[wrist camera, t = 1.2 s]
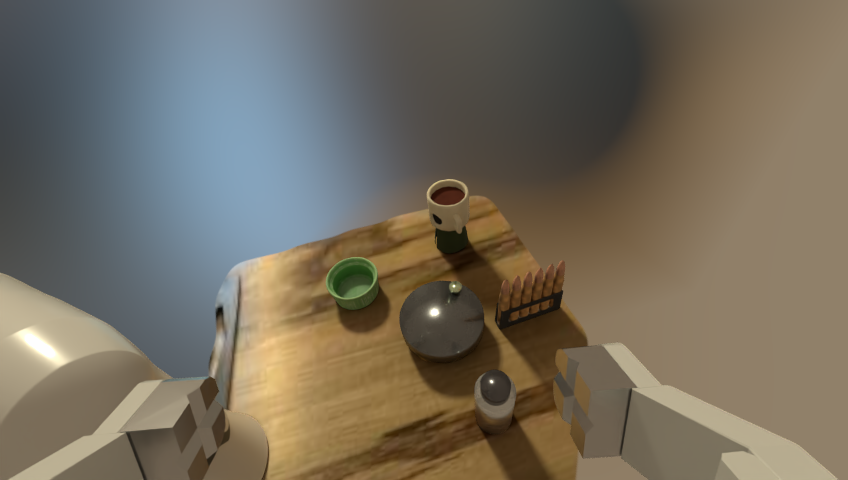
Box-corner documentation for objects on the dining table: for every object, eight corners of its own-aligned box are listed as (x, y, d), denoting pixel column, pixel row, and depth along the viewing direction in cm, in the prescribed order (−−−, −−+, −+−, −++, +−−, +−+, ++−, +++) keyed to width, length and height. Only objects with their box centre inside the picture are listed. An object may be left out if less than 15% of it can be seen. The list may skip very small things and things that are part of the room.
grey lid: (428, 384, 59) (425, 370, 56) (390, 319, 67) (384, 303, 64) (500, 341, 63) (501, 324, 59) (455, 283, 71) (454, 266, 67)
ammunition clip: (553, 299, 67) (565, 253, 58) (559, 308, 66) (572, 263, 57) (494, 320, 65) (496, 276, 56) (499, 329, 64) (502, 287, 55)
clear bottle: (489, 442, 54) (490, 414, 45) (468, 409, 57) (466, 377, 48) (519, 421, 55) (526, 391, 47) (497, 390, 58) (500, 356, 50)
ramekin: (380, 311, 69) (375, 297, 66) (328, 314, 70) (321, 300, 66) (383, 270, 75) (379, 255, 71) (336, 272, 75) (329, 258, 72)
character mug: (425, 229, 80) (417, 179, 71) (458, 218, 81) (455, 168, 72) (443, 269, 73) (438, 220, 63) (480, 257, 74) (480, 207, 64)
